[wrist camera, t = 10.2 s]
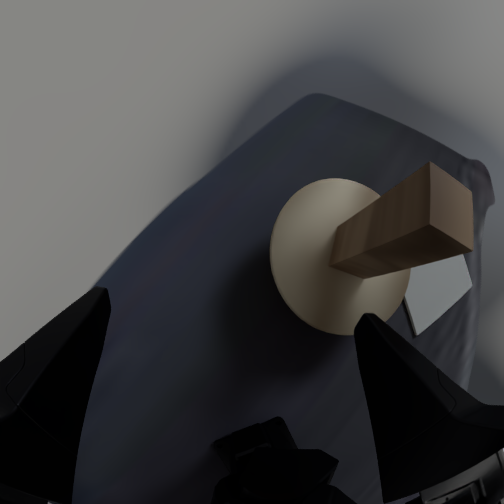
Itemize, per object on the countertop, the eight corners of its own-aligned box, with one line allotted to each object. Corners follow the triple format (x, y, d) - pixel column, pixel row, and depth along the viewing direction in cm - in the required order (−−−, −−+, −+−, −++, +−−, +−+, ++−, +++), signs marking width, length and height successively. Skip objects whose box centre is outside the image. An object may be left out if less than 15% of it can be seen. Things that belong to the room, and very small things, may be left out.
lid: (411, 215, 21) (502, 166, 11) (388, 348, 18) (500, 361, 8) (293, 161, 20) (351, 59, 10) (247, 308, 18) (295, 308, 7)
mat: (470, 286, 26) (472, 286, 26) (415, 335, 24) (417, 335, 23) (438, 199, 28) (440, 198, 27) (375, 228, 25) (377, 227, 25)
